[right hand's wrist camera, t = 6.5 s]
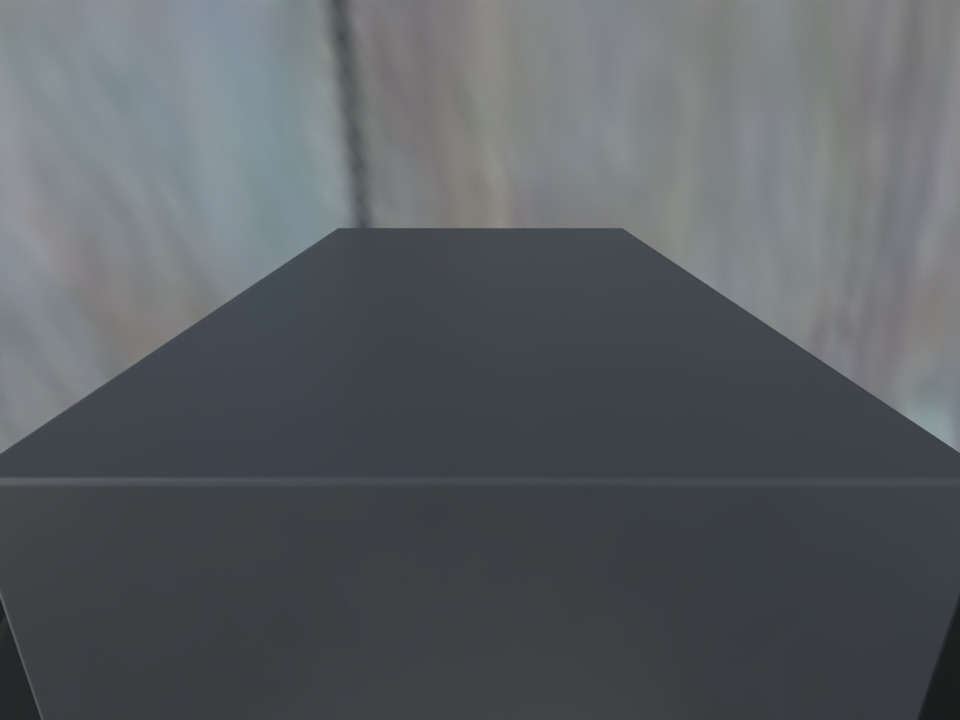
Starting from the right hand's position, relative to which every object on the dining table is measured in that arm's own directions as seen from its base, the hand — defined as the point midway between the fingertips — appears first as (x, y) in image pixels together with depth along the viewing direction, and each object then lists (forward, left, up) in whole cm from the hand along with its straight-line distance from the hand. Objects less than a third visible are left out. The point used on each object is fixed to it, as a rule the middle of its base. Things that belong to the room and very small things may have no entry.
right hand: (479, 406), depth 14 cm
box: (+4, +7, -1) cm, 9 cm away
